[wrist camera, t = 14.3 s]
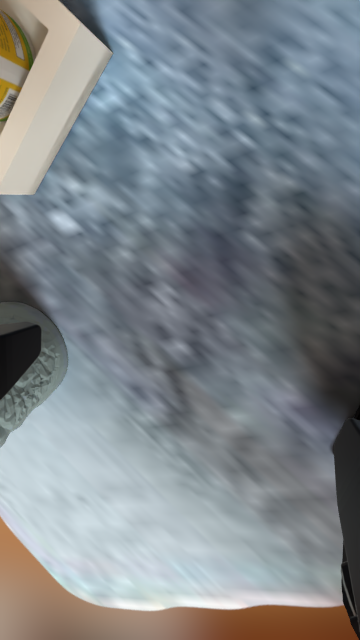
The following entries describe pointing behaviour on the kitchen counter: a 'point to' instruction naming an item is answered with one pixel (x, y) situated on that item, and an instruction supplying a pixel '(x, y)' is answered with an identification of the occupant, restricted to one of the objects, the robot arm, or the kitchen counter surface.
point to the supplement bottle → (13, 62)
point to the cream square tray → (47, 91)
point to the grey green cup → (32, 368)
